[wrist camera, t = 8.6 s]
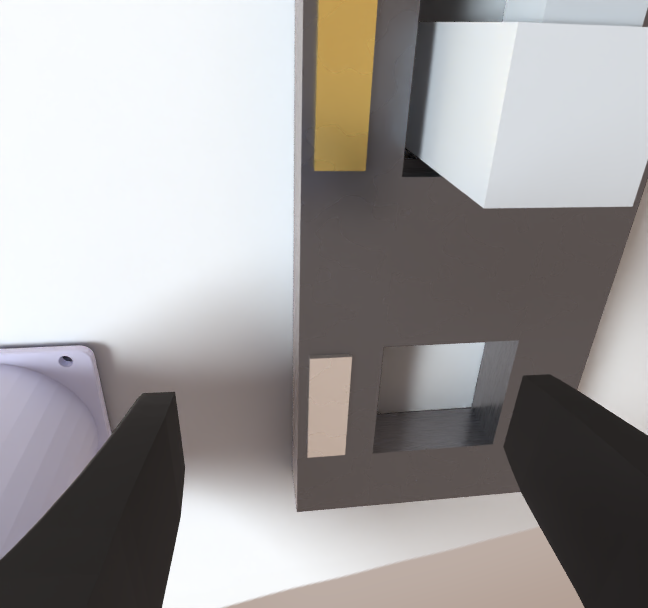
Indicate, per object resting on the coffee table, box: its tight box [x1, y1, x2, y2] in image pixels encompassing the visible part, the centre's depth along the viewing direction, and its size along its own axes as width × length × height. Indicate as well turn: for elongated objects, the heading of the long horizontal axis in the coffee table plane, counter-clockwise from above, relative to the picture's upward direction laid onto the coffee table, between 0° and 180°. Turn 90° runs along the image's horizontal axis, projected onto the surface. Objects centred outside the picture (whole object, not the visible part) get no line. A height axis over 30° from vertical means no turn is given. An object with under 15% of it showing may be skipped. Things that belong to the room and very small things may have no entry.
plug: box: [405, 0, 648, 208], centre depth 15 cm, size 4×5×7 cm
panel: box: [292, 0, 648, 512], centre depth 19 cm, size 12×24×3 cm, turn 178°
